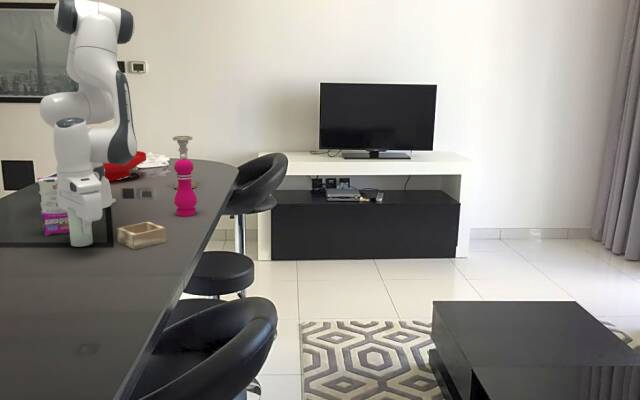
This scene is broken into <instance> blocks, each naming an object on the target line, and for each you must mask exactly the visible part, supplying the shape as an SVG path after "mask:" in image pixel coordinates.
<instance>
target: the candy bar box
mask: <svg viewBox="0 0 640 400" xmlns="http://www.w3.org/2000/svg"><path fill="white" fill-rule="evenodd" d="M36 182H37V189H38V190H37V191H38V197H39V203H40V213H41V218H42V219H41V221H42V228H43V234H44V236H45V237H47V236H54V235H55V236H56V235H63V234H70V230H69V221H68V214H67V212H66V211H64V210H62V209H60V208H59V207H58V204H57V184H58V181H57V175H56V176H46V177H37V181H36Z"/></svg>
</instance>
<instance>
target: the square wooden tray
mask: <svg viewBox="0 0 640 400" xmlns="http://www.w3.org/2000/svg"><path fill="white" fill-rule="evenodd" d="M116 235H117V236H116V237H117V242H118V243H120V244H122V245H124V246H127V247H128V248H130V249H133V250H139V249H144V248H147V247H152V246H155V245H159V244H162V243H166V242H167V229H166V227H164V226H161V225H159V224H157V223H156V224H155V223H153V222H151V221H148V220H147V221H143V222H139V223H134V224H130V225H124V226H119V227H116Z"/></svg>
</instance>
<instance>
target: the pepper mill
mask: <svg viewBox="0 0 640 400" xmlns="http://www.w3.org/2000/svg"><path fill="white" fill-rule="evenodd" d="M193 170H194V163H193V162H192V161H191V160H190V159H186V155H185V154H182V155H181V159H180V158H179V159H178V160H176V161H175V163H174V171H175V172H176V179H177V182H178V189H176V193H175V195H174V204H175V206H176V207H177V208H176V215H177V216H179V217H192V216H195V215H196V214H197V208H196V205H197V204H198V200H197V195H196V193H195V191H194V189H192V186H191V181H192V179H193V173H192V172H193Z"/></svg>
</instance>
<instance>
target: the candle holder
mask: <svg viewBox="0 0 640 400" xmlns="http://www.w3.org/2000/svg"><path fill="white" fill-rule="evenodd" d="M193 139H194V138H193V136H191V135H176V136H173V137H172V140H173V141H177V144H178V147H179V148H178V149H177V151H178V152H179V160H180V159H181V155H182V154H185V155H186V159H188V151H189V149H188V146H187V145H188V144H189V141H192V140H193ZM188 160H189V159H188ZM191 186H192V188H194V189H196V188H197V183H195V182H194V181H193V180H191ZM195 187H196V188H195ZM173 188H174V189H175V188H176V189H175V190H178V181H177V182H176V183H175V184H174V185H173Z"/></svg>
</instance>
